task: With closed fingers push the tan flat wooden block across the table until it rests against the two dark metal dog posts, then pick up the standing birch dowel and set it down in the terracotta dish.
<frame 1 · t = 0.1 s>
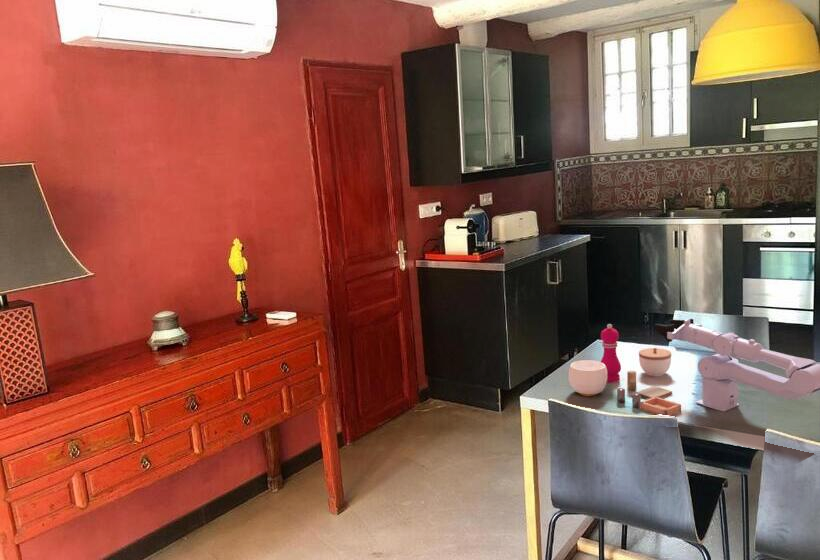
hand: (662, 324, 219), 22 cm above the table, tool horizontal, fingers open, 7 cm apart
cup: (588, 393, 223), on the table
lidded jar: (654, 374, 238), on the table
tan flat wooden block: (653, 396, 218), on the table
pepper mill: (610, 380, 234), on the table
dish: (660, 410, 205), on the table
dowel: (631, 389, 224), on the table
bench dogs: (628, 404, 212), on the table
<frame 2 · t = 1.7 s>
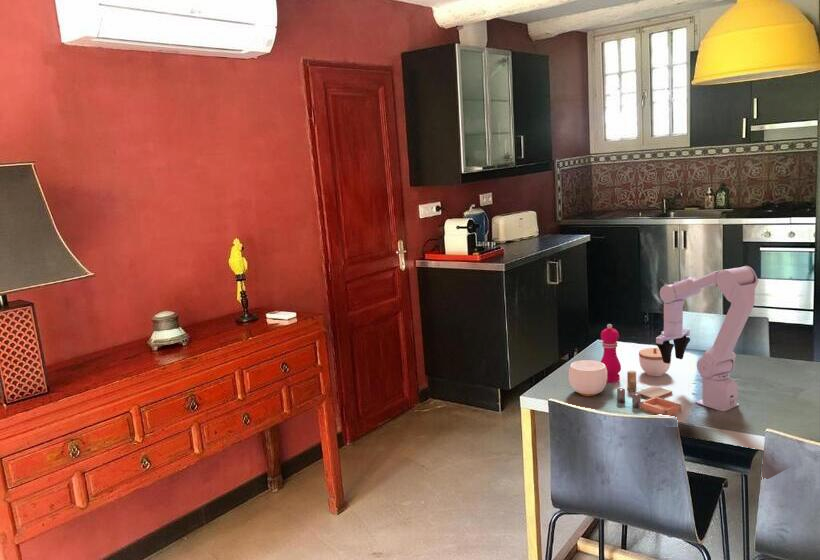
hand: (673, 360, 221), 9 cm above the table, tool pointing down, fingers open, 6 cm apart
nothing on the table moved.
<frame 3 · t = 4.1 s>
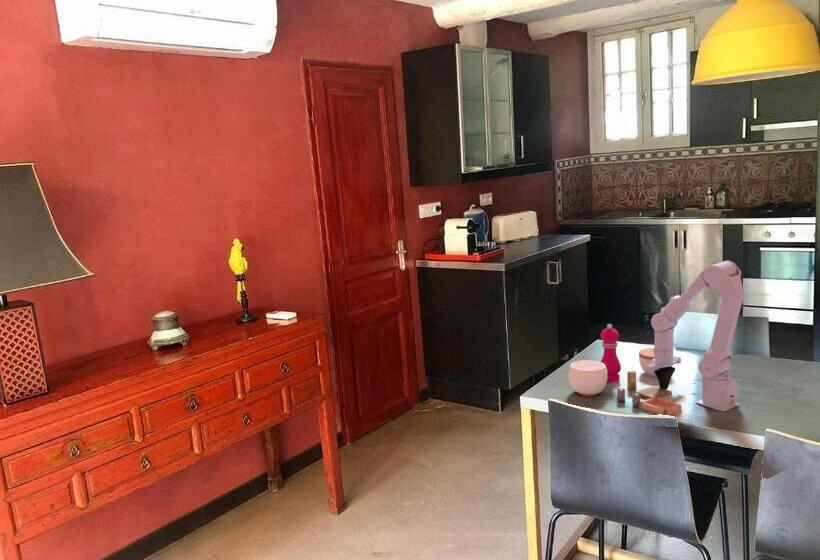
hand: (663, 388, 220), 1 cm above the table, tool pointing down, fingers closed
tan flat wooden block: (653, 396, 218), on the table, touching gripper
everything else where it was.
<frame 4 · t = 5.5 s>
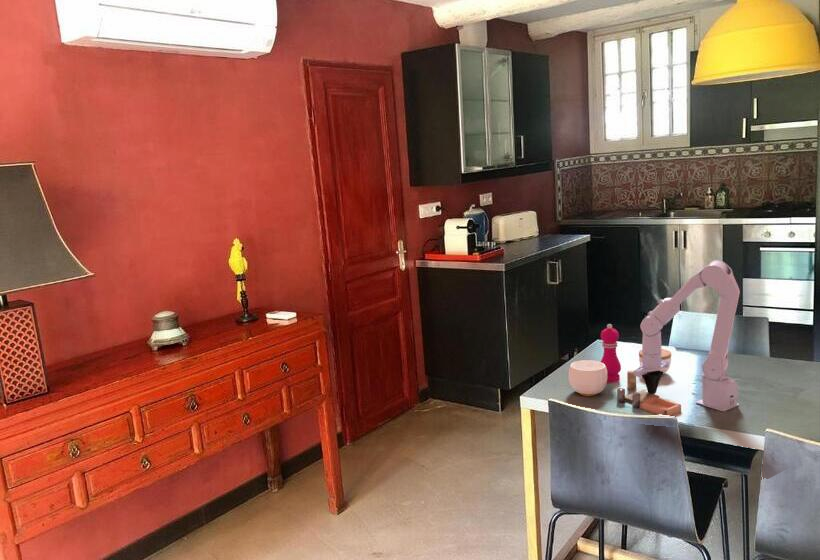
hand: (651, 392, 217), 1 cm above the table, tool pointing down, fingers closed
tan flat wooden block: (640, 401, 215), on the table
everything else where it was.
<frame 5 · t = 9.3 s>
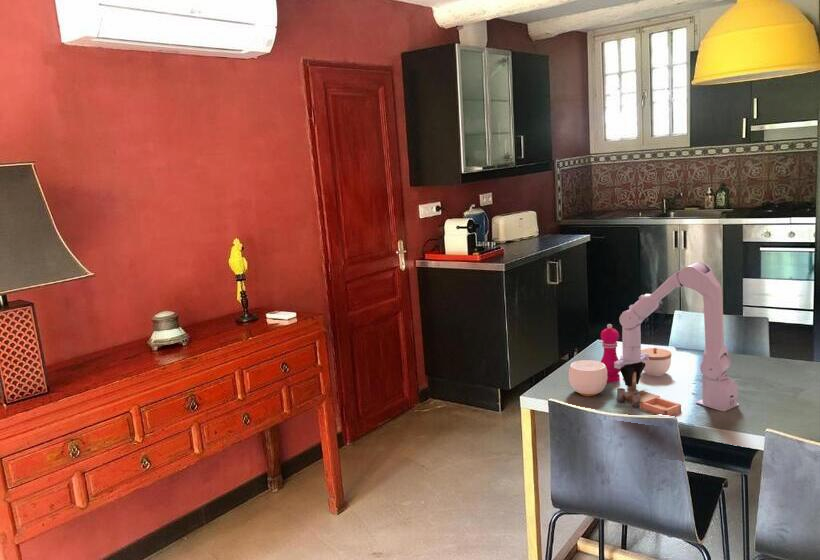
hand: (631, 384, 224), 2 cm above the table, tool pointing down, fingers closed on dowel, 3 cm apart
dowel: (631, 389, 224), on the table, touching gripper
everything else where it was.
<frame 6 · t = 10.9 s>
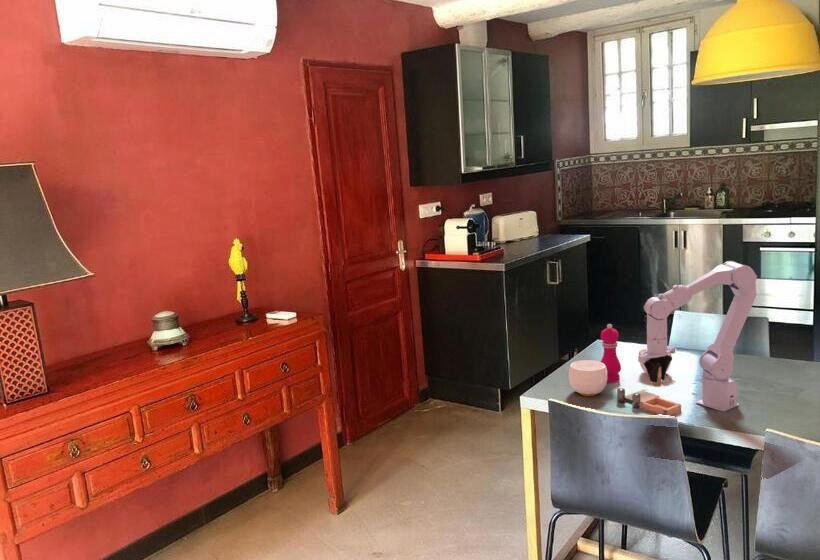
hand: (657, 380, 206), 9 cm above the table, tool pointing down, fingers closed on dowel, 3 cm apart
dowel: (656, 385, 206), point 7 cm above the table, touching gripper
everything else where it was.
when the fingers open (3 cm above the table, at t = 12.4 s): dowel drops 1 cm, resting on dish.
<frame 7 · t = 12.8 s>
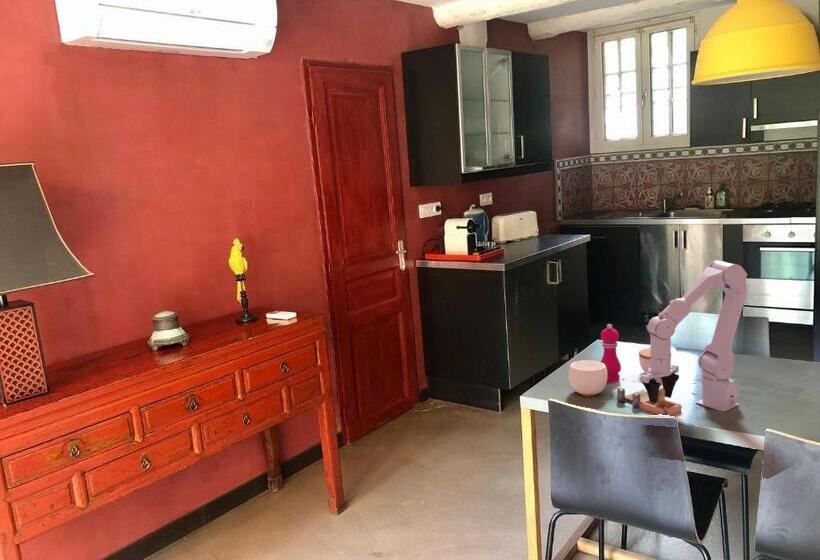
hand: (660, 399, 205), 3 cm above the table, tool pointing down, fingers open, 6 cm apart
dowel: (659, 408, 205), point 1 cm above the table, touching dish
everything else where it was.
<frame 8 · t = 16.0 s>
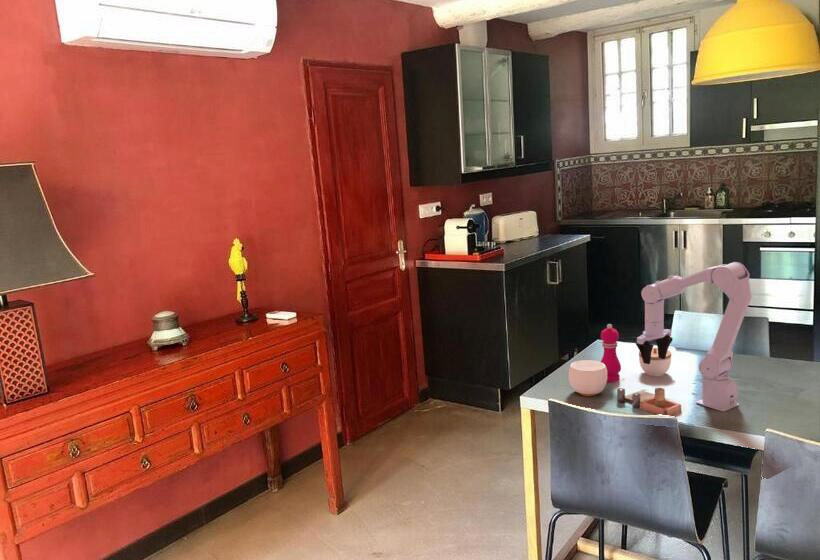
hand: (654, 360, 221), 10 cm above the table, tool pointing down, fingers open, 7 cm apart
nothing on the table moved.
at the end: tan flat wooden block 0.1 cm from the target spot, on the table; dowel 0.2 cm off-centre on the dish, point 0.6 cm above the dish's base; the gripper is holding nothing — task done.
